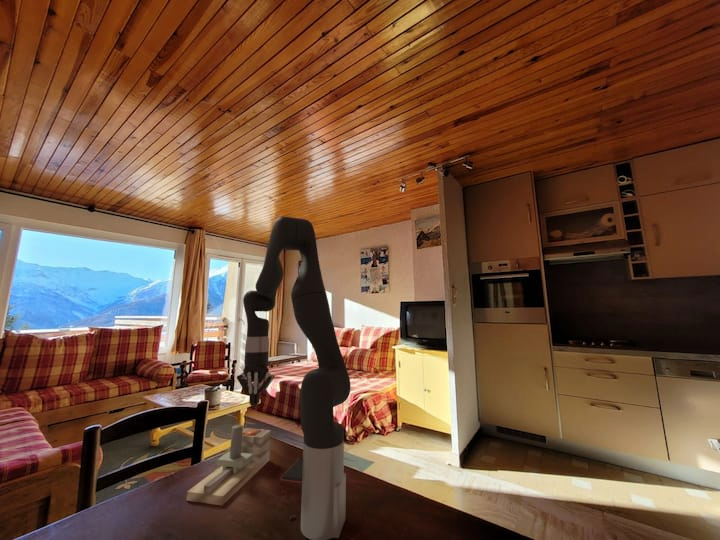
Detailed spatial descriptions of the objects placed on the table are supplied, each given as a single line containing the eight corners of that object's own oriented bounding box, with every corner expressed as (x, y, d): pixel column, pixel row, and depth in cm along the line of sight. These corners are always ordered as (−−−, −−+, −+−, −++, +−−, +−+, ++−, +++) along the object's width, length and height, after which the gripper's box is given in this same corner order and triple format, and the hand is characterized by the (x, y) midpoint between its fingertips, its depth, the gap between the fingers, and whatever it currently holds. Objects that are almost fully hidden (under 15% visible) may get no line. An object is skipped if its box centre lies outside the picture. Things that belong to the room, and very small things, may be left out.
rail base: (269, 460, 92) (270, 430, 93) (222, 505, 69) (225, 464, 71) (240, 457, 94) (243, 427, 95) (186, 500, 71) (190, 460, 73)
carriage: (252, 465, 84) (254, 424, 86) (242, 474, 79) (244, 430, 81) (227, 462, 85) (230, 422, 87) (216, 471, 81) (219, 428, 83)
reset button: (260, 440, 92) (260, 429, 93) (253, 445, 88) (254, 434, 89) (248, 439, 93) (249, 429, 94) (241, 444, 89) (242, 433, 90)
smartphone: (319, 459, 93) (302, 482, 79) (319, 460, 92) (302, 484, 79) (299, 456, 94) (278, 479, 81) (299, 458, 94) (278, 481, 81)
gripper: (280, 349, 98) (278, 403, 95) (245, 349, 101) (242, 401, 98) (269, 351, 91) (267, 409, 88) (232, 351, 94) (228, 407, 90)
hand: (254, 405), depth 93 cm, fingers closed
